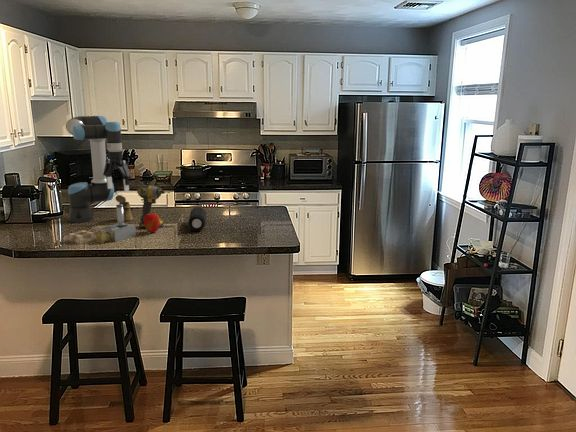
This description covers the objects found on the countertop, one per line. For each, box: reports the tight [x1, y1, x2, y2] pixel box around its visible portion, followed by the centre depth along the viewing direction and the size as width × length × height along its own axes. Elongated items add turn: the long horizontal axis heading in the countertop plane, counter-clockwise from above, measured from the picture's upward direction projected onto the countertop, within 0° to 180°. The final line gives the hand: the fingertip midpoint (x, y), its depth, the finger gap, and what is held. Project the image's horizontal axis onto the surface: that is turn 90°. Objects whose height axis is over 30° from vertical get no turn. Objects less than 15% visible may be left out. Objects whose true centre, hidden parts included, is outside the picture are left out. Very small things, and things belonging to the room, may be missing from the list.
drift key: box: [95, 233, 111, 244], centre depth 260 cm, size 4×10×4 cm, turn 148°
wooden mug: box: [115, 194, 133, 222], centre depth 300 cm, size 9×14×18 cm, turn 2°
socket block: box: [101, 222, 137, 242], centre depth 267 cm, size 11×14×6 cm
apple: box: [143, 212, 160, 234], centre depth 276 cm, size 9×9×12 cm
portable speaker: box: [187, 206, 207, 232], centre depth 289 cm, size 26×10×10 cm, turn 8°
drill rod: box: [115, 204, 126, 228], centre depth 267 cm, size 4×4×18 cm
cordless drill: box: [136, 184, 171, 229], centre depth 285 cm, size 9×20×25 cm, turn 78°
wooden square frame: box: [68, 229, 96, 245], centre depth 261 cm, size 9×9×4 cm
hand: (118, 189), depth 262 cm, fingers open, 13 cm apart
